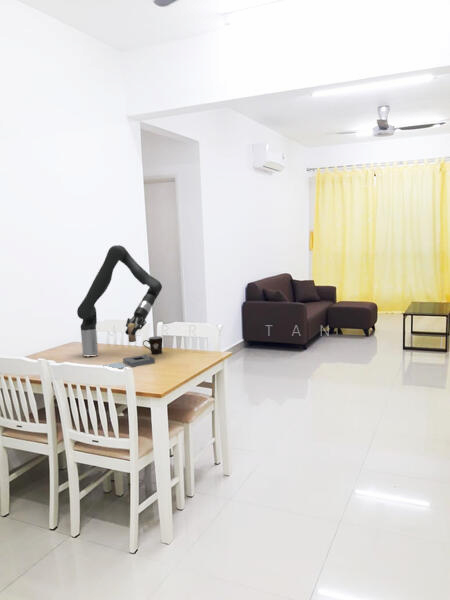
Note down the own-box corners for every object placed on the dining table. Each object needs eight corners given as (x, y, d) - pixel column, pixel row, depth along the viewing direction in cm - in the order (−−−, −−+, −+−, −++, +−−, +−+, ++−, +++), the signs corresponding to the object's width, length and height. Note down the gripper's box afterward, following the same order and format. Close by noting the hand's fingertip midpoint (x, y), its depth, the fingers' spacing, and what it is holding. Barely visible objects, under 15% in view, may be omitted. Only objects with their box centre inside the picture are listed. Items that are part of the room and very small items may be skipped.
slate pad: (103, 366, 280) (103, 365, 280) (119, 363, 285) (119, 362, 285) (111, 370, 268) (110, 369, 268) (128, 367, 273) (128, 366, 273)
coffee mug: (165, 352, 309) (164, 336, 307) (159, 355, 301) (158, 339, 299) (149, 351, 313) (148, 336, 311) (142, 354, 305) (141, 338, 303)
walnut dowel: (127, 341, 281) (126, 324, 280) (134, 340, 283) (133, 323, 282) (130, 342, 278) (129, 325, 277) (136, 341, 280) (135, 324, 279)
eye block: (123, 362, 286) (122, 358, 286) (145, 358, 293) (145, 354, 293) (131, 367, 274) (131, 362, 274) (154, 362, 281) (154, 358, 281)
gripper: (130, 305, 289) (116, 329, 280) (148, 306, 281) (134, 331, 272) (137, 313, 293) (124, 337, 285) (155, 314, 285) (141, 338, 277)
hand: (129, 334), depth 279 cm, fingers closed on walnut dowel, 4 cm apart
